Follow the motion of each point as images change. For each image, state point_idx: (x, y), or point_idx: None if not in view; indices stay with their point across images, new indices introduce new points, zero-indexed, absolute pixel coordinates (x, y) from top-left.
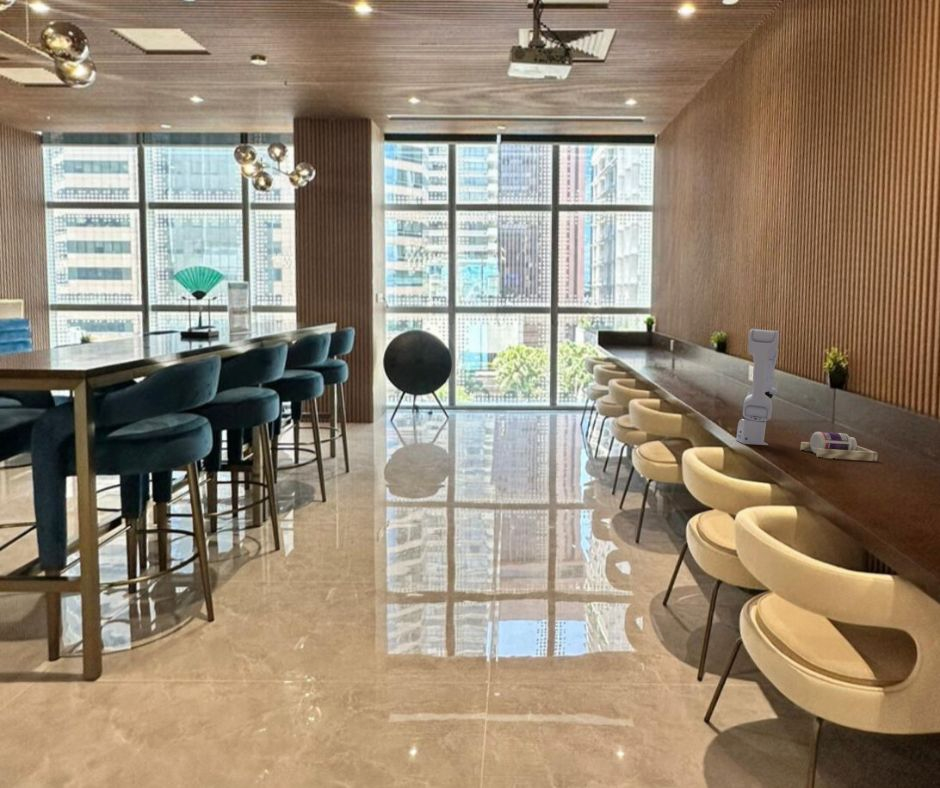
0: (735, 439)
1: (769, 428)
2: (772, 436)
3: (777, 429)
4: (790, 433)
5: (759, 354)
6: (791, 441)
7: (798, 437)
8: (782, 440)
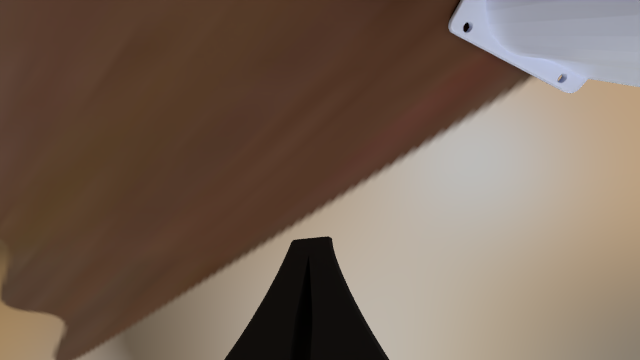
0: (578, 86)
1: (74, 306)
2: (186, 167)
3: (41, 291)
4: (10, 222)
5: None
6: (150, 9)
7: (9, 129)
8: (204, 52)
